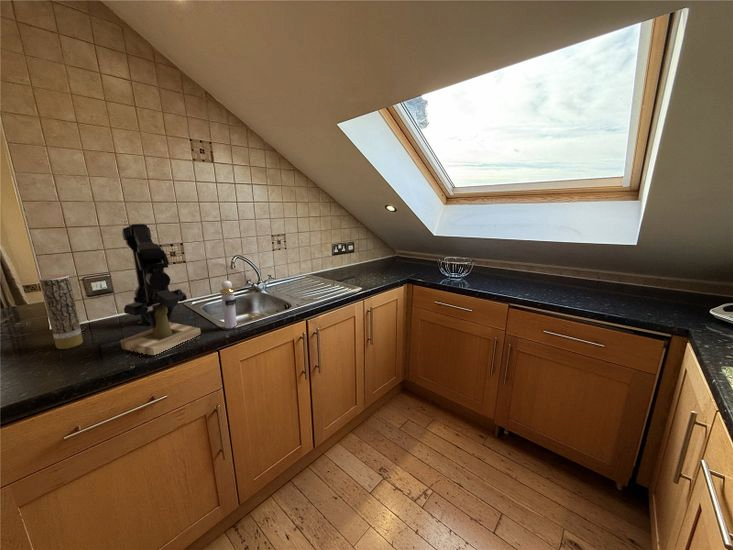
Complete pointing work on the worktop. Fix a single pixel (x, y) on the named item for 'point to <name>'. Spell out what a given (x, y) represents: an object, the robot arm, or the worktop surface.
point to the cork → (161, 323)
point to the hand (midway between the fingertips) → (160, 325)
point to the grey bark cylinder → (61, 310)
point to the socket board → (155, 346)
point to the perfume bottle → (228, 305)
